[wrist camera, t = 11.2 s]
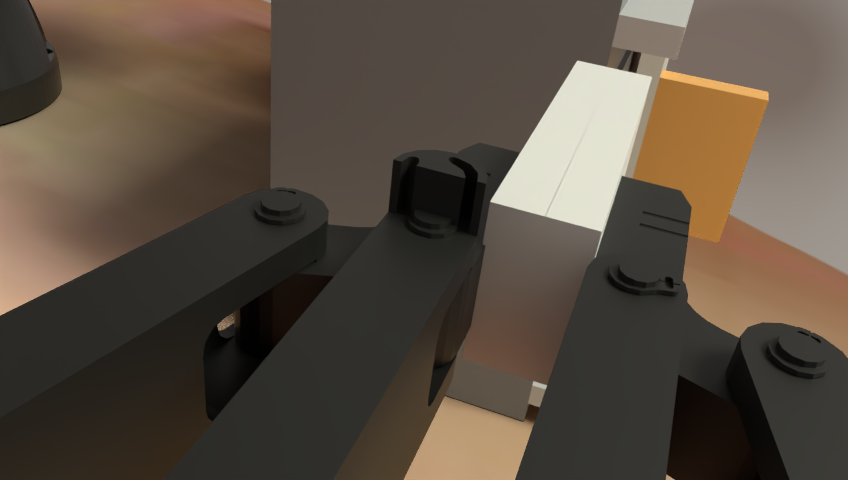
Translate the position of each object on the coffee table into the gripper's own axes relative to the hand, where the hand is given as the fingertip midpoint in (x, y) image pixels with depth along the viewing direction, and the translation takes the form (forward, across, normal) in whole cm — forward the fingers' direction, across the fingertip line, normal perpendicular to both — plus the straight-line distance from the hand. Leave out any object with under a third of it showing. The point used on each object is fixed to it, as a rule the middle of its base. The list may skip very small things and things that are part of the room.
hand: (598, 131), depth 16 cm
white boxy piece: (+25, +3, -15) cm, 29 cm away
